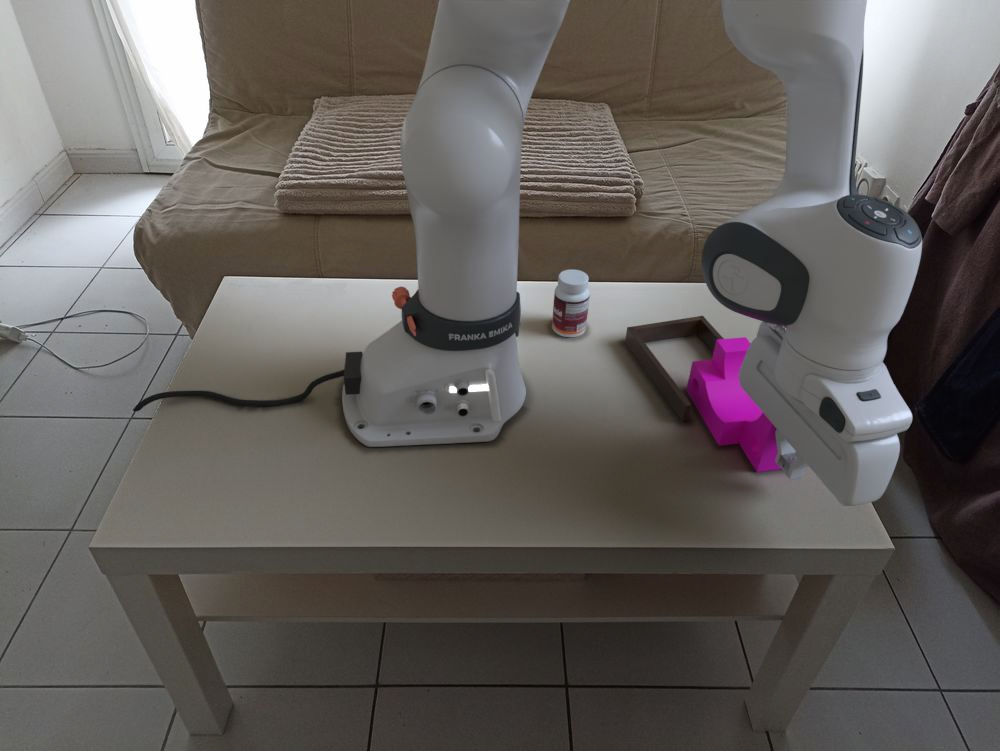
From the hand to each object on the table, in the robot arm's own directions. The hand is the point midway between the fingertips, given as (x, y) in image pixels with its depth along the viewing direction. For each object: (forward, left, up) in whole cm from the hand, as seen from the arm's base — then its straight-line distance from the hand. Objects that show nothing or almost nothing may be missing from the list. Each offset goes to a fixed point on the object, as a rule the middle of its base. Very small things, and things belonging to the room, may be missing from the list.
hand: (788, 470), depth 80 cm
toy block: (0, +10, -3) cm, 11 cm away
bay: (0, +21, -3) cm, 21 cm away
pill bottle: (-12, +35, -3) cm, 37 cm away
